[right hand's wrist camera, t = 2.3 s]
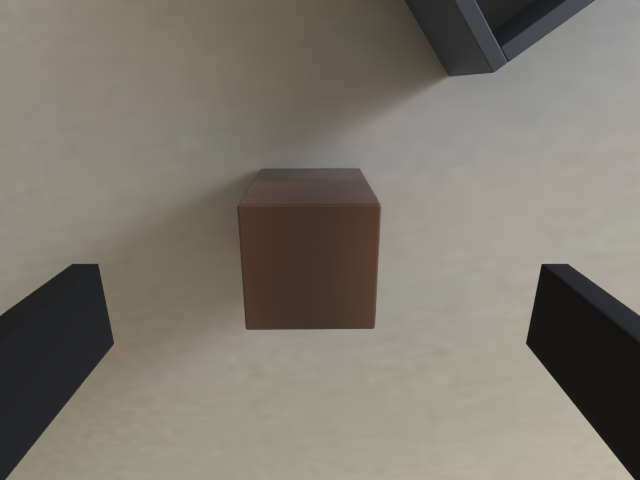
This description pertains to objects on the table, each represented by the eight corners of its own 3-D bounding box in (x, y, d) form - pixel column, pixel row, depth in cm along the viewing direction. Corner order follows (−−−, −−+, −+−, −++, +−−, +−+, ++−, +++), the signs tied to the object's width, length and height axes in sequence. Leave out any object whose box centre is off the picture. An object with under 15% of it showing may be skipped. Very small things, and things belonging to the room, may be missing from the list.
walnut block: (265, 260, 23) (245, 330, 16) (260, 168, 21) (236, 204, 14) (357, 260, 23) (375, 329, 16) (360, 168, 21) (381, 204, 15)
